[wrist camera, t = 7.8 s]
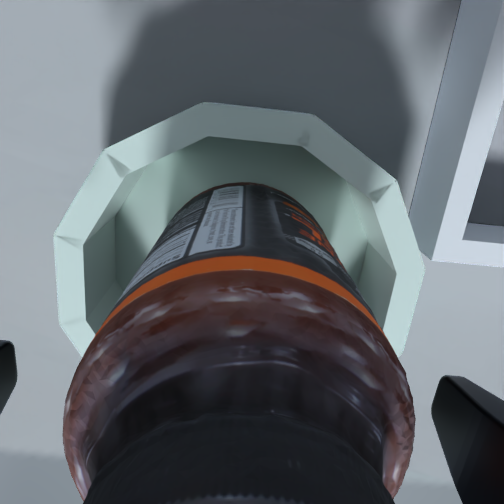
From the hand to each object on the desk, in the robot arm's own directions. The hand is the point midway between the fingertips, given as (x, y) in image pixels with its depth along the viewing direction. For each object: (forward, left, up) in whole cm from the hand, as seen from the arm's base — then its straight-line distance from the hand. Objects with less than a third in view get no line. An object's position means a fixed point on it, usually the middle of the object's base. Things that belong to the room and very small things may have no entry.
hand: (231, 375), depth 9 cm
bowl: (0, 0, -8) cm, 8 cm away
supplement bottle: (0, 0, -7) cm, 7 cm away
